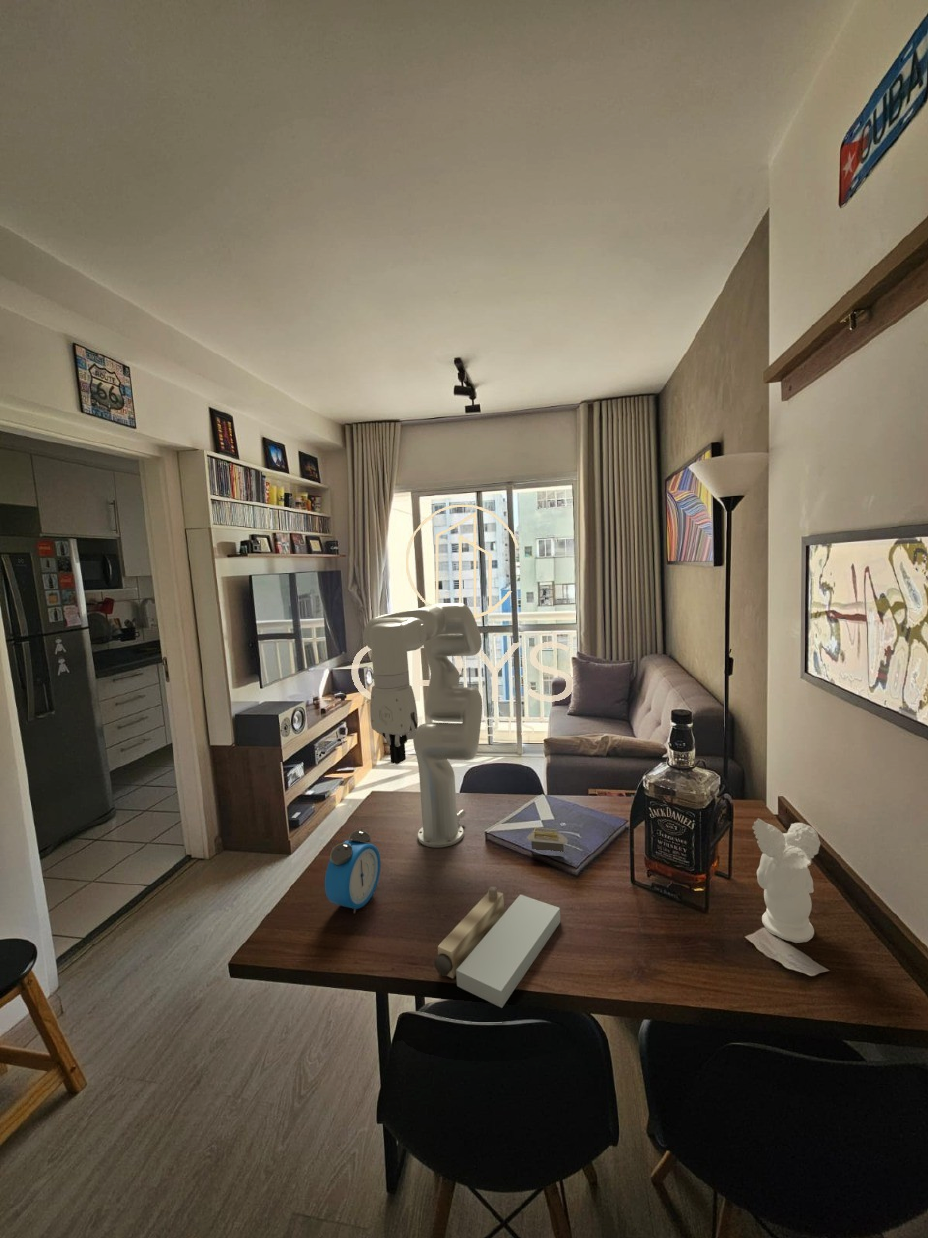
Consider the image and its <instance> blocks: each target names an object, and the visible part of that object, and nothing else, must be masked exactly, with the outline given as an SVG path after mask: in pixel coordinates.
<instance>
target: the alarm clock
mask: <svg viewBox="0 0 928 1238" xmlns="http://www.w3.org/2000/svg"><path fill="white" fill-rule="evenodd" d="M371 840H372V837H371V835H370V833H369V832H368V831H366V830H364V829H363V828H361V829H356V830H354V831H352V832H351V833H350V835H349V836H348V840H345V841H343V842H341V843H337V844H336V845H335V846H334V847H332V849H331V852H330V854H329V861H328V864H327V867H326V871H325V878H324V889H325V894H326V897H327V899H328V900H329V902H330V903H331V904H334V905H337V906H341V907H345V908H349V909H353V914H356V912H357V910H358V909H361V908H363V907H364V906H365V905H366V904H368V902H369V901H370V899H371V898H372V897H373V896H374V893H375V890H376V889H377V886H378V884H379V880H380V876H381V875H380V874H381V855H380V852H379V850H378V848H377V846H376V845H374V844H372V843H370V842H371Z"/></svg>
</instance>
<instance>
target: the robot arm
mask: <svg viewBox="0 0 928 1238" xmlns="http://www.w3.org/2000/svg"><path fill="white" fill-rule="evenodd" d="M363 640H364V643H365V645H366V646H367V647H368V648H369V649H370V650H371V651H370V652H371V662H372V674H371V679H372V680H373V686H372V687H371V692H370V702H369V703H370V706H369V708H370V710H369V711H370V712H369V713H370V715H369V716H370V726H371V729H372V730H373V731H374V732H376V733H377V734H379V735H381V736H383V738H384V739H385V742H386V744H387V746H389V755H390V757H389V758H390V763H391V764H394V765H398V764H401V763H402V762H404V761H405V760H406V759H407V756H406V755H407V754H406V746H405V745H406V743H407V742H408V740H412V741H413V742H412V743H413V748H414V752H415V756H416V760H417V766H418V775H419V790H420V803H421V820H422V827H420V829H419V830H418V832H417V840H418V842H419V843H420V844H422V845H423V846H426V847H428V848H434V849H435V848H439V849H440V848H446V847H451V846H453V845H455V844H457V843H459V842H460V841H461V840H462V839H463V837H464V836H465V835H464V834H465V833H464V832H465V831H464V828H463V826H462V825H460V821H461V819H462V818H464V817H465V816H466V811H465V810H464V809H460V810H459V811H458V809H457V794H456V793H457V792H456V779H455V778H456V777H455V771H454V768H453V766H452V764H451V763H450V762H449V760H452V761H453V760H455V761H469V760H473V759H474V758H475V757H476V756H477V754H478V750H479V745H480V734H481V727H482V725H481V723H482V717H483V716H482V715H483V699H482V695H481V693H480V691H479V690H478V689H477V688H473V687H468V686H467V687H465V686H462V687H461V686H460V687H459V685H460V679H461V675H460V672H459V670H458V668H457V667H456V666H455V664H453V662H452V661H451V660H450V659H449V657H470V656H471V657H473V656H476V655H477V654H479V652H480V651H481V649H482V636H481V632H480V629H479V626H478V624H477V622H476V618H475V616H474V614H473V612H472V610H471V609H470V607H469V606H468V605H466V604H465V603H463V602H450V603H448V602H447V603H446V602H445V603H432V604H428V605H425V606H422V607H420V608H414V609H408V610H405V611H400V612H399V611H398V612H394V613H389V614H383V615H379V616H376V617H372V618H371V619H370V620H368V622H367V623H366V624H365V627H364V629H363ZM420 648H423V649H424V654H425V658H426V660H427V663H428V667H429V671H430V679H429V684H428V689H427V693H426V694H427V695H426V700H425V707H424V708H425V709H424V711H425V716H427V718H428V719H430V720H432V721H435V722H426V723H422V724H420V725H419V724H418V723H419V719H418V710H417V703H416V697H415V695H414V693H415V692H414V690H413V686H412V685H411V683H410V675H409V674H410V673H409V663H408V662H409V660H408V652H412V651H416V650H419V649H420Z"/></svg>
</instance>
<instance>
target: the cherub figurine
mask: <svg viewBox="0 0 928 1238" xmlns="http://www.w3.org/2000/svg"><path fill="white" fill-rule="evenodd" d="M752 830H754V831H753V834H754V835H755V839H757V841H756V843H757V845H758V847H759V849H760V852H761V853H762V854H761V856H760V859H759V860H760V861H759V866H758V868H757V869H756V876H757V879H756V880H757V883H758V885H759V887H760V888H762V889H763V898H764V904H765V906H766V909H765V910H766V911H765V912H764V913H763V914H762V916H761V921H762V924H763V927H765V929H766V931H767V932H768V933H770V934H772V935H774V936H777V937H778V938H779V939H782V940H785V941H787V942H792V943H795V944H798V943H799V944H800V943H807V942H809V941H810V940H811V939H813V937H814V936H815V929H814V927H813V925H812V923H811V922H810V918H809V917H810V914H811V912H812V905H813V904H812V898H811V895H810V894H812V893H814V891H815V890H814V881H813V878H812V875H811V871H810V868H808V866H811V864H812V859H814V858H815V856H816V855H818V854H819V850H820V847H821V841H820V838H819V834H818V831H816V829H815V828H814V827H812V826H811V825H808V824H807V823H806V824H805V823H803V822H795V823H790V827H789V828H788V830H787V832H785V833H784V832H782V831H781V830H780V829H779V828H777V827H776V826H774V825H772V824H771V823H770V824H769V823H767V822H765V821H764V820H762V819H761V818H759V817H758V818H757V819H756V820H755V821H754V822H753V825H752Z"/></svg>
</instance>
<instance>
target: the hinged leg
mask: <svg viewBox="0 0 928 1238" xmlns="http://www.w3.org/2000/svg"><path fill="white" fill-rule="evenodd" d="M504 902H505V901H504V893H503V892H499V891H498V887H496V886H489V887H488V892H486V893H485V895H484V896H483V897H482V898H481V899H480V900H479V902H477V903H476V905H474V906H473V908H472V909H471V910H470V911H469V912H468V913H467V915H466V916H464V918H462V919H461V920H460V922H459V923H458V924H456V926H455V927H454V928H453V929H452V931H450V933H448V935H446V937H445V938H444V939H443V940H442V941H441V942H440V943H439V945H437V956H436V958H435V959H434V961H433V966H434V968H435V970H436V972H437V974H439V975H441V976H443V977H449V978H451V979H454V978H455V977H456V970H457V968H458V967H459V966H460V965H461V964H462V963H463V961H464V960H465V959H466V958H467V957H468V956H469V954H470V953H471V952H472V951H473V950H474V948H475V947H476V946H477V945H478V944H479V943H480V941H481V940H482V939H483V938H484V937H485V936H486V934H487V933H488V932H489V931H490V930H491V928H492V927H493V926H494V925H495V924H496V923H497V921H498V920H499V919H500V918H501V917H502V916H503V914H504V913H505V907H504V905H505V904H504Z"/></svg>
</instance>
